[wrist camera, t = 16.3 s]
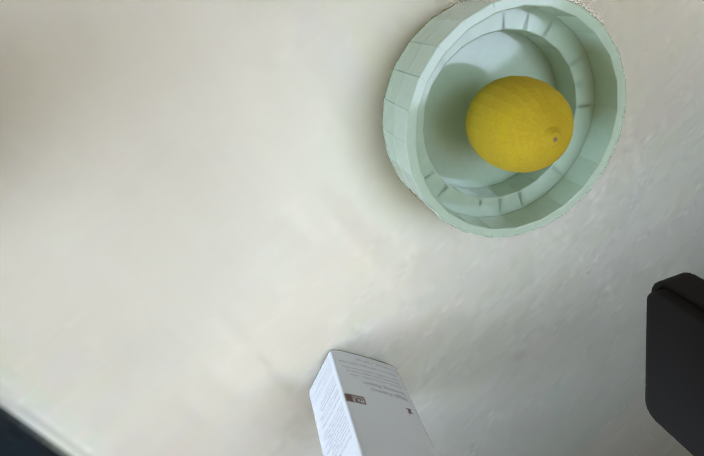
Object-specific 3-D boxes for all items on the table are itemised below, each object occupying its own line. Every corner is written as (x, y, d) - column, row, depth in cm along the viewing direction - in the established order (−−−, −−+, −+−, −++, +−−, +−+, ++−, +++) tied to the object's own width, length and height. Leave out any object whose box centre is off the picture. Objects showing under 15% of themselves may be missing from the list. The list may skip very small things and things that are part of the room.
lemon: (440, 81, 34) (503, 101, 27) (519, 59, 35) (601, 73, 28) (451, 162, 36) (512, 201, 29) (525, 141, 37) (602, 173, 30)
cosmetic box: (396, 364, 42) (463, 487, 32) (372, 409, 44) (428, 543, 33) (326, 346, 40) (372, 472, 29) (302, 394, 41) (338, 533, 30)
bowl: (339, 152, 35) (359, 174, 30) (461, -54, 32) (503, -64, 27) (496, 240, 40) (533, 270, 36) (612, 72, 38) (668, 80, 33)
